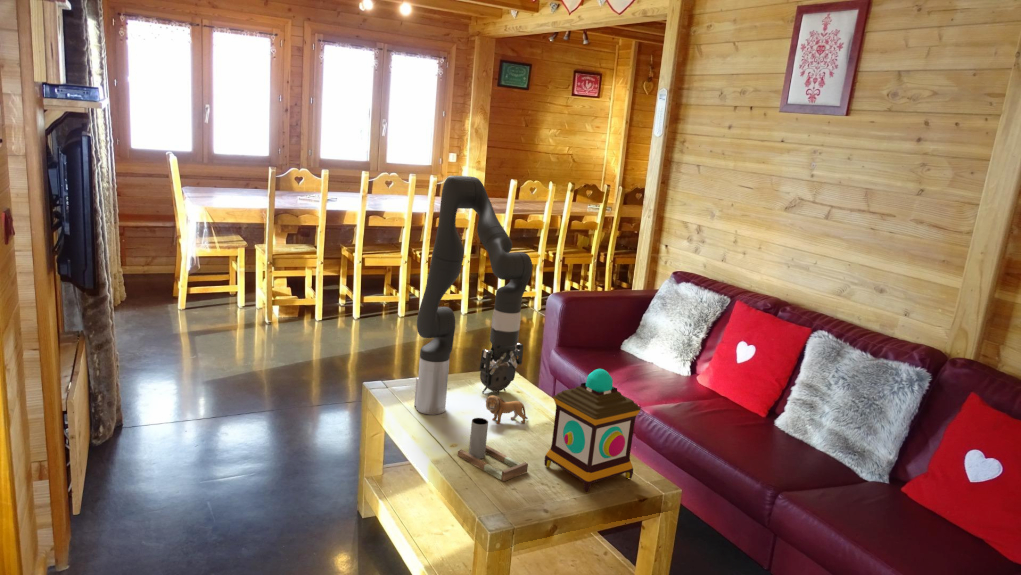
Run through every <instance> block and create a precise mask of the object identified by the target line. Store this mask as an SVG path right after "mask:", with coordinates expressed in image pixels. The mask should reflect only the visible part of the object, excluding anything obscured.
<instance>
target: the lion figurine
mask: <svg viewBox="0 0 1021 575" xmlns="http://www.w3.org/2000/svg"><path fill="white" fill-rule="evenodd" d="M485 407H486V410H488V411H489V412H490V413H491V414H492V415H493V417H492V421H493V422H494V421H495V424H496V425H499V424H501V421H502V417H503V416H502V415H503V414H510V413H512V412H513V414H514V415H513V416H512V417H510V420H516V418H517V417H518V416H519V417H520V418H521V419H522V420H521V421H520V423H521V424H525V423H526V420H528V419H529V418H528V416H527V415H526V407H525V405H524V404H523V403H522V402H521V401H518V400H512V401H505V400H504V399H503V398H501V397H499V396H498V395H489V396H487V398H486V400H485ZM496 420H497V421H496Z"/></svg>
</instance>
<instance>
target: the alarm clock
mask: <svg viewBox="0 0 1021 575" xmlns="http://www.w3.org/2000/svg"><path fill="white" fill-rule="evenodd" d="M492 362H494V363H496V362H495V361H494V360H493V361H492ZM508 366H509V365H508V363H507V362H504V363H502V364H500V365H499V367H498V368H496V369H495V371H494V373H493V384H492V387H487V386H485V384H484V378H485V373H484V372H482V371H480V373H479V379H480V381H481V384H482V385H483V386H484V389H483V391H482V394H484V393H485V391H486V390H489V391H492V392H496V396H499V395H500V392H501V391H502V390H503V391H506V388H507V387H508V386H510V384H511V383H512V381H510V380H507V378H506V377H507V368H508ZM484 367H485V364H484ZM491 368H492V366H490V368H489V369H491Z"/></svg>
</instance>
